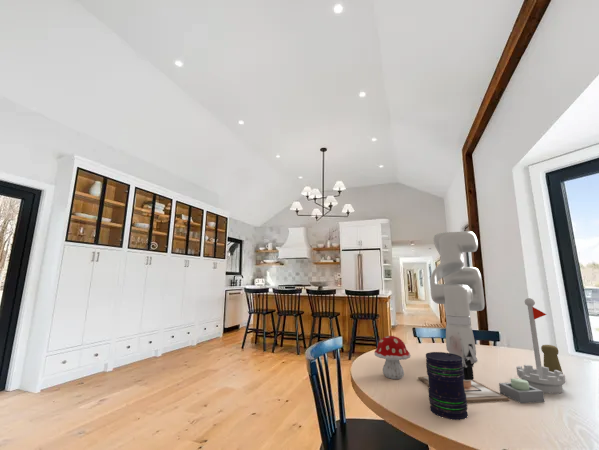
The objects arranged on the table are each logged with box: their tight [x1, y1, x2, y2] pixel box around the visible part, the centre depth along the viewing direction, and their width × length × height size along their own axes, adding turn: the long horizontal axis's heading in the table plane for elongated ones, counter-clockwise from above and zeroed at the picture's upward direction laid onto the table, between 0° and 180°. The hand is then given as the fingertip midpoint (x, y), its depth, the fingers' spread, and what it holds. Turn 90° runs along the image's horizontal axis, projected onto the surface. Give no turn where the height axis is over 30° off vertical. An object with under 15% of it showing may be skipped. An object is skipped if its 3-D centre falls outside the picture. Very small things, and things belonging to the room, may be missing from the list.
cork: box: [540, 344, 564, 374], centre depth 114 cm, size 6×6×11 cm
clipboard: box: [417, 375, 510, 404], centre depth 100 cm, size 22×18×1 cm
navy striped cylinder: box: [425, 351, 469, 421], centre depth 84 cm, size 10×10×15 cm
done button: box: [510, 378, 529, 391], centre depth 93 cm, size 5×5×4 cm
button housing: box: [498, 382, 545, 404], centre depth 93 cm, size 8×8×3 cm
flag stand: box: [516, 297, 566, 394], centre depth 103 cm, size 13×13×30 cm
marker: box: [462, 355, 472, 388], centre depth 99 cm, size 4×4×12 cm
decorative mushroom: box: [374, 335, 412, 380], centre depth 114 cm, size 14×14×15 cm
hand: (464, 376), depth 99 cm, fingers closed on marker, 3 cm apart
